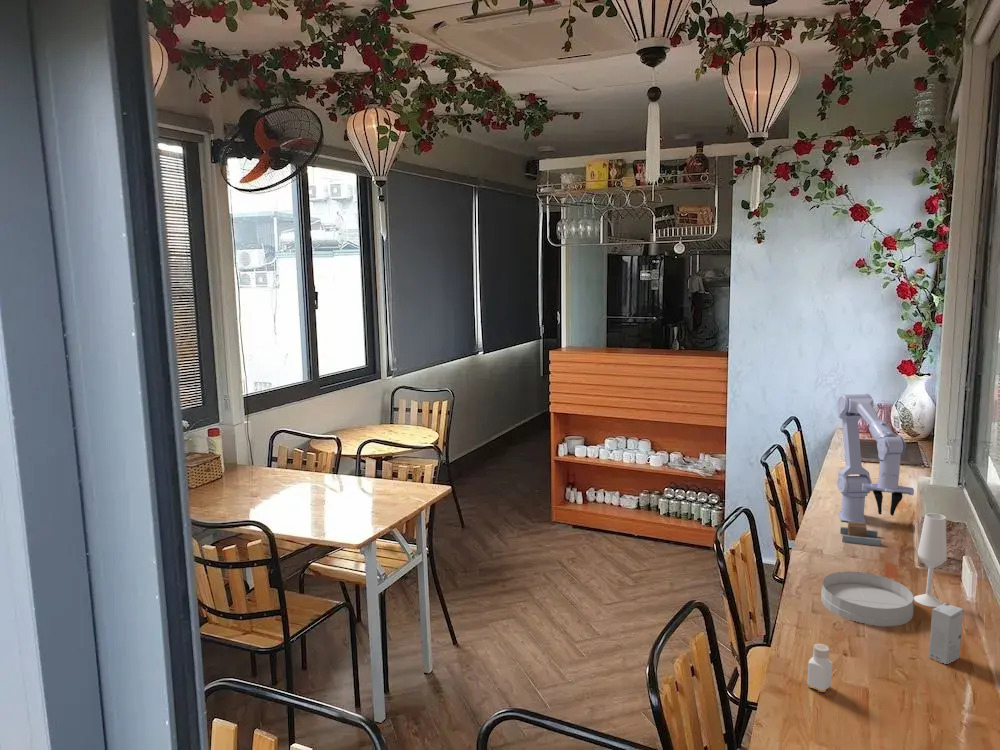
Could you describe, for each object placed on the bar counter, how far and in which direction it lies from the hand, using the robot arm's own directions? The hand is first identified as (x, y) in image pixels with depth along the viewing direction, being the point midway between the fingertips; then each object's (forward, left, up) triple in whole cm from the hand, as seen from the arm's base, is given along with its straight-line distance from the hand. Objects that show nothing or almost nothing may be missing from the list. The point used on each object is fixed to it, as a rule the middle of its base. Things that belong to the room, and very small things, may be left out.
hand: (885, 513), depth 237 cm
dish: (+49, -11, -10) cm, 51 cm away
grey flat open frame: (0, -7, -9) cm, 12 cm away
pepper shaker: (+93, -25, -10) cm, 97 cm away
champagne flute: (+41, +5, -10) cm, 42 cm away
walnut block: (0, -8, -10) cm, 12 cm away
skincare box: (+71, +3, -10) cm, 72 cm away
